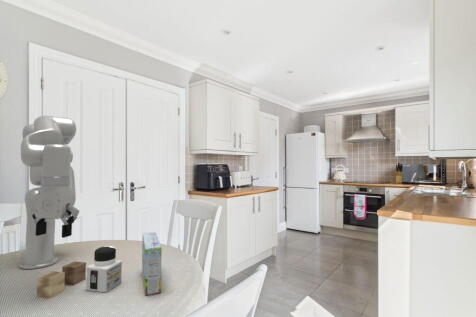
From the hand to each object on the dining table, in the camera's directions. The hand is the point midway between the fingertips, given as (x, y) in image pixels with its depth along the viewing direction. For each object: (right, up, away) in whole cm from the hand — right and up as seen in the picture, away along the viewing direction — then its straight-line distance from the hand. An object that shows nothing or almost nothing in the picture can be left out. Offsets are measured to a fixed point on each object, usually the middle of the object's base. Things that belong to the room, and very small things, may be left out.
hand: (53, 235), depth 82 cm
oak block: (0, -18, -1) cm, 18 cm away
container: (+14, -19, +5) cm, 24 cm away
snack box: (+28, -19, +9) cm, 35 cm away
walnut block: (+1, -19, +8) cm, 20 cm away
